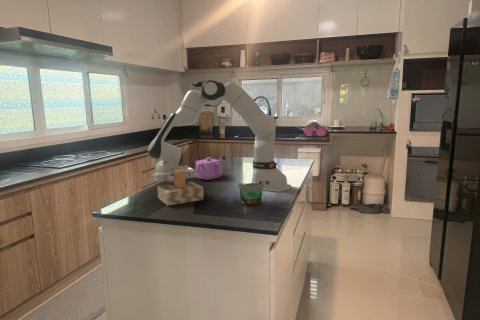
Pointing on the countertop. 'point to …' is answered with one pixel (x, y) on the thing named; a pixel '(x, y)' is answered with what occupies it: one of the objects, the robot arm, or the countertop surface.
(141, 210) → the countertop surface
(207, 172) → the teakettle
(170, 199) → the socket
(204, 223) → the countertop surface
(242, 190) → the food container
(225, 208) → the countertop surface
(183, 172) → the plug
